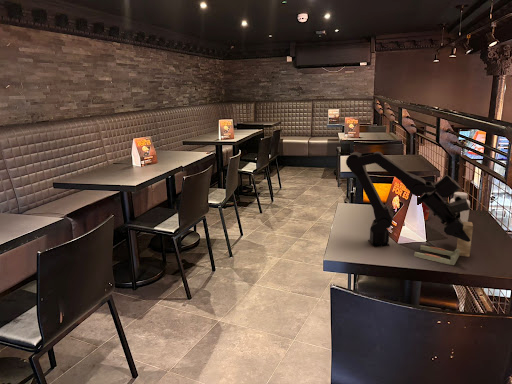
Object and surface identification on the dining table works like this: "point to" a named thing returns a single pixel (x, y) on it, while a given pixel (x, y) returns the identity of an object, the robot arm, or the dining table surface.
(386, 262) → the dining table surface
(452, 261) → the sage rail
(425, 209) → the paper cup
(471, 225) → the birch finger
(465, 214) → the pill bottle
